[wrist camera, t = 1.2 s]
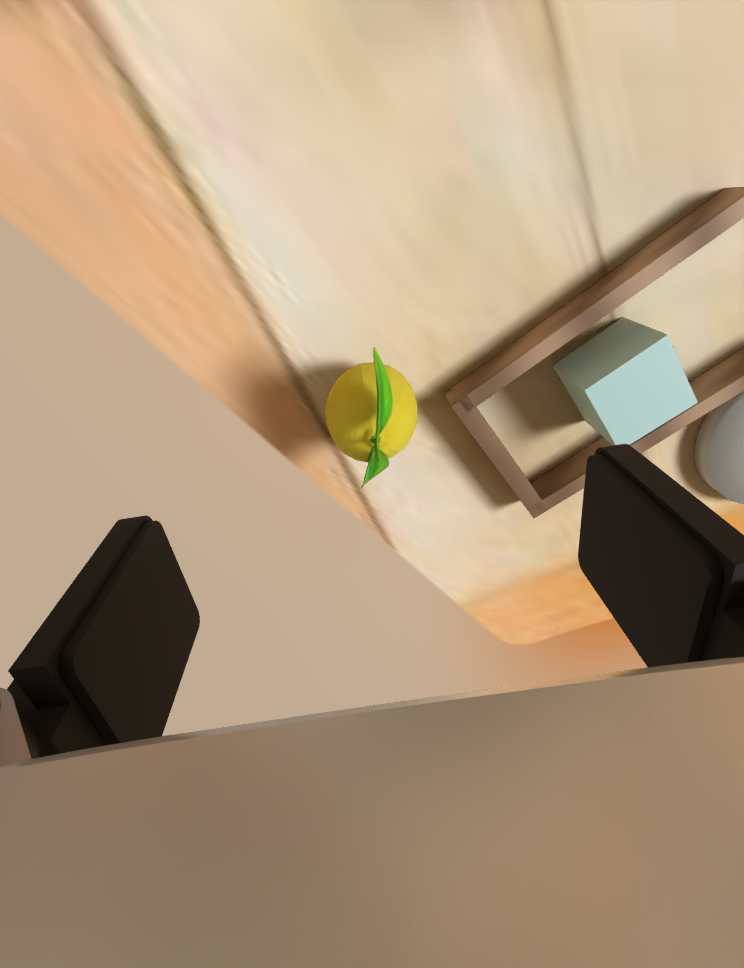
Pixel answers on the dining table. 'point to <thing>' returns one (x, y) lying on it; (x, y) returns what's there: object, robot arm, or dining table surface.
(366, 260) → the dining table surface
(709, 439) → the grey round disc
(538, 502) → the frame
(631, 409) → the teal cube
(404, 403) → the lemon
